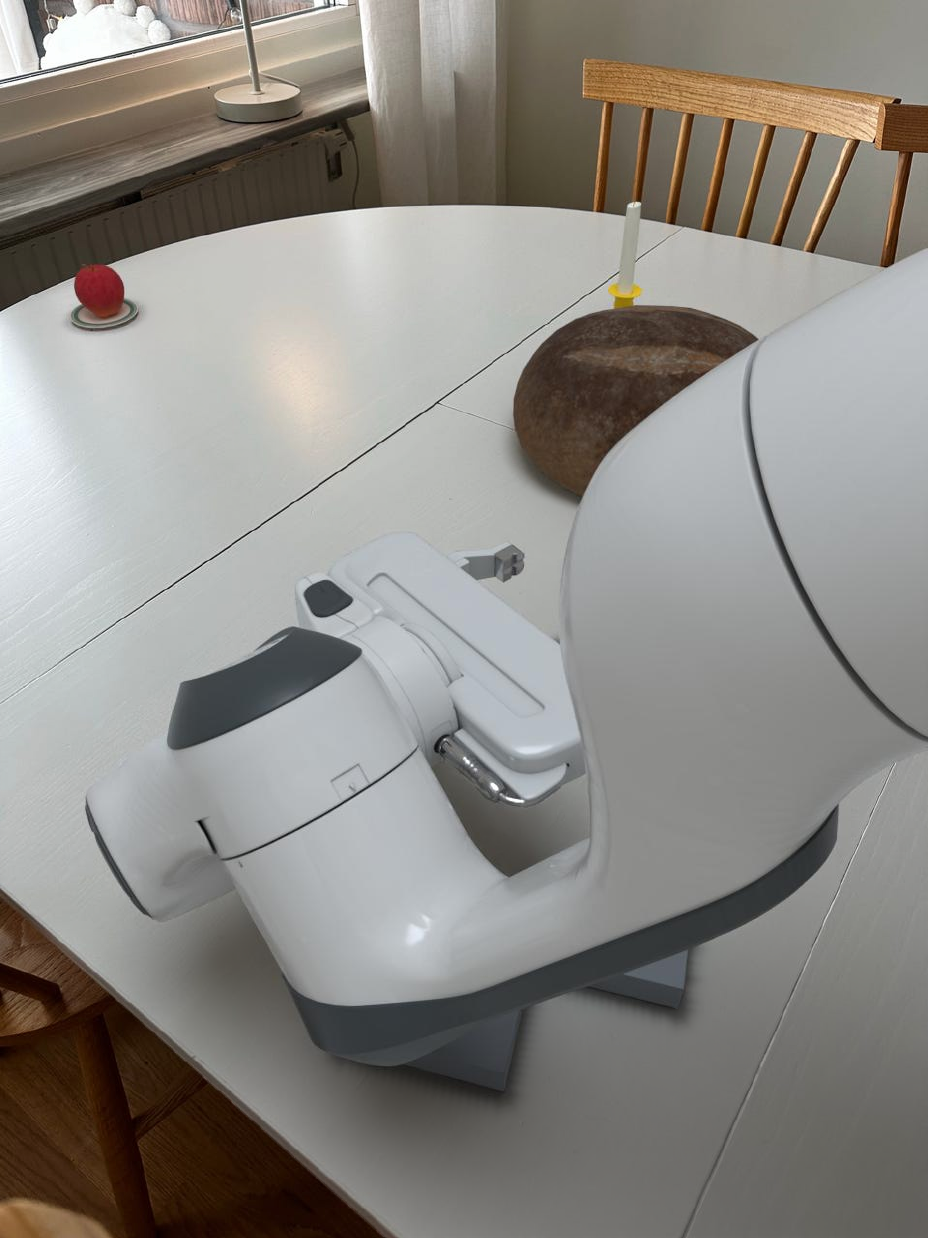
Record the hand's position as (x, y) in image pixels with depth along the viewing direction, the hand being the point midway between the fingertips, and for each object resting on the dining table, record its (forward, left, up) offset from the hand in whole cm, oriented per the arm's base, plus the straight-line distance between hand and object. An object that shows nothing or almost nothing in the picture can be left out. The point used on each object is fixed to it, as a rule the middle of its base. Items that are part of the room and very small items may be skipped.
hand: (568, 592), depth 60 cm
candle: (+25, -59, -15) cm, 65 cm away
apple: (+80, -29, -15) cm, 86 cm away
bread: (+12, -39, -15) cm, 43 cm away
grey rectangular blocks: (-7, +16, -15) cm, 23 cm away
